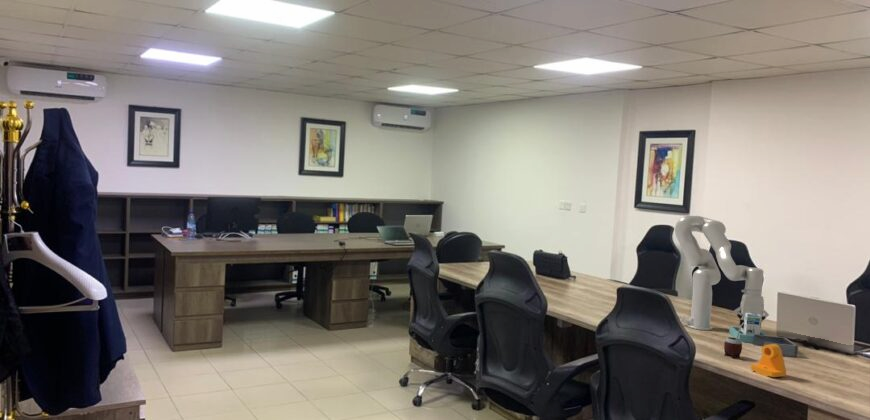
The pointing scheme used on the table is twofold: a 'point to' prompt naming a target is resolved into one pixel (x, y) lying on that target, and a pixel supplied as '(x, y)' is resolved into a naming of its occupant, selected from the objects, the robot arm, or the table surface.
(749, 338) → the tray
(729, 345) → the mate gourd
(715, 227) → the robot arm
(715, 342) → the table surface
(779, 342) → the tray
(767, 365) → the bracket
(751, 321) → the light bulb box
